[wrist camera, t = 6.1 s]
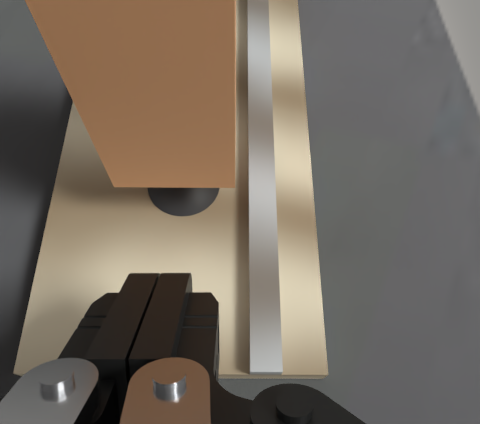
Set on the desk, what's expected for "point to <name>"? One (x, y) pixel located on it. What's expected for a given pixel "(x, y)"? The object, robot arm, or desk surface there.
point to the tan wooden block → (150, 85)
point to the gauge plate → (202, 224)
